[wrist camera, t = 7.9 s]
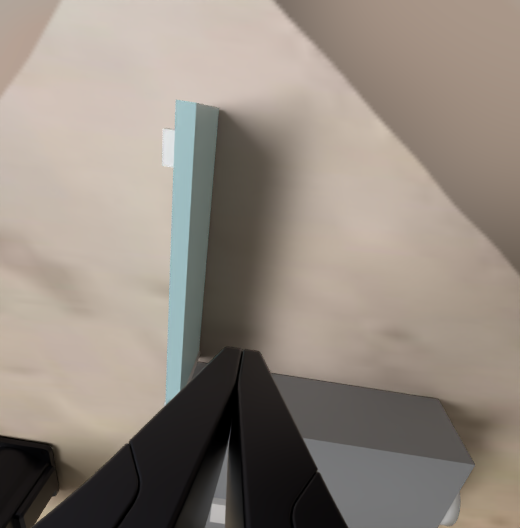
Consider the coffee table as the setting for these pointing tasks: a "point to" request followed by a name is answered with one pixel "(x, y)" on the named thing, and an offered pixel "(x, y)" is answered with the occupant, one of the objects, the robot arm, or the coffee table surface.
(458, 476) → the block
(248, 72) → the coffee table surface
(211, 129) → the door
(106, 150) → the coffee table surface
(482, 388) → the coffee table surface
